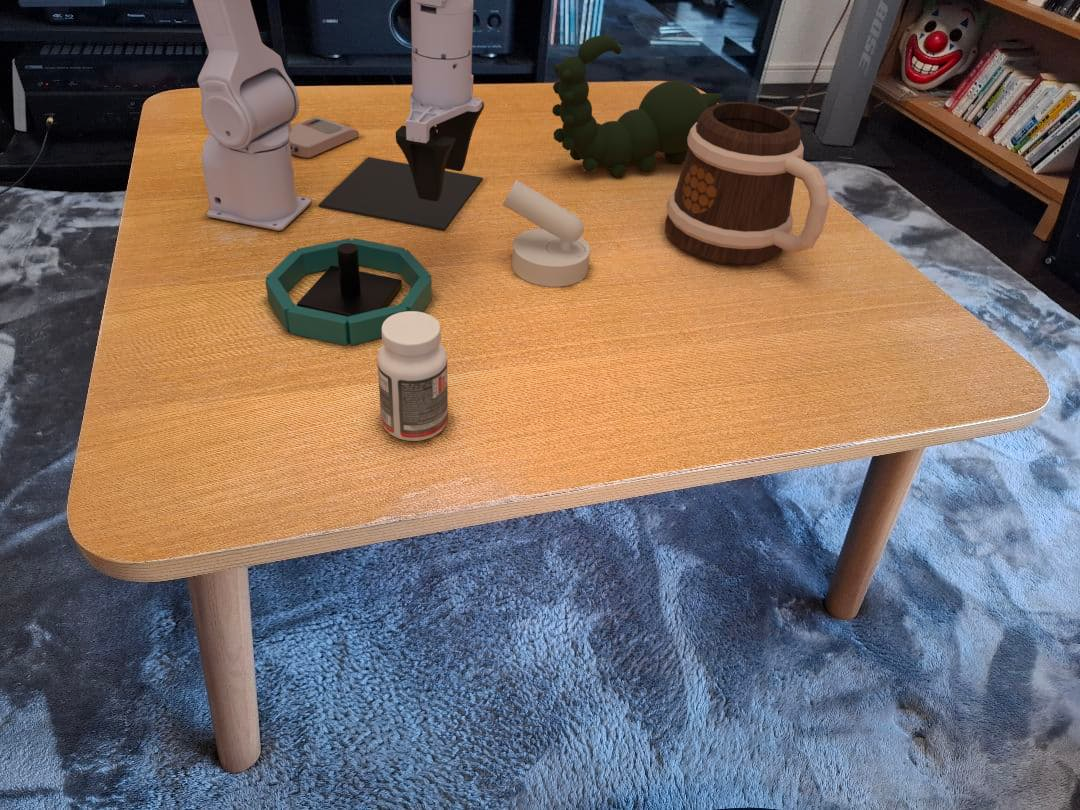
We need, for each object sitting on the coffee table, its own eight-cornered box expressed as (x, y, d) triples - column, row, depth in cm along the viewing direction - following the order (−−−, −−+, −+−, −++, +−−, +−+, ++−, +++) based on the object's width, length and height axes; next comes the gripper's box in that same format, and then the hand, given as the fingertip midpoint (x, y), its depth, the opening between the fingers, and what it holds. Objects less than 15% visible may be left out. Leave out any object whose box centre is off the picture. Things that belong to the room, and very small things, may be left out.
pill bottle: (457, 411, 76) (459, 317, 70) (431, 451, 72) (429, 355, 66) (399, 394, 77) (395, 301, 71) (369, 432, 73) (362, 337, 67)
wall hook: (513, 163, 95) (602, 177, 94) (509, 240, 101) (593, 254, 100) (494, 196, 88) (590, 211, 87) (491, 277, 94) (581, 292, 93)
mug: (636, 228, 105) (655, 107, 96) (718, 199, 113) (743, 85, 104) (762, 303, 94) (798, 174, 85) (843, 265, 102) (885, 143, 92)
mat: (318, 206, 104) (318, 204, 104) (368, 158, 115) (368, 156, 115) (444, 230, 101) (444, 228, 101) (482, 179, 113) (482, 177, 113)
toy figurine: (572, 201, 114) (733, 165, 121) (575, 55, 101) (754, 25, 108) (543, 171, 120) (698, 139, 127) (542, 31, 107) (714, 3, 115)
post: (297, 311, 86) (290, 259, 83) (331, 273, 92) (327, 222, 89) (372, 327, 85) (369, 275, 81) (402, 287, 91) (400, 236, 87)
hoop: (245, 324, 84) (241, 301, 82) (315, 250, 96) (313, 229, 94) (393, 356, 82) (392, 333, 80) (446, 277, 94) (446, 256, 92)
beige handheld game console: (368, 133, 122) (367, 112, 120) (286, 168, 111) (284, 146, 109) (332, 121, 124) (331, 100, 122) (250, 154, 114) (246, 132, 112)
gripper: (458, 80, 76) (455, 220, 84) (503, 35, 87) (497, 162, 95) (382, 68, 77) (388, 207, 85) (436, 24, 88) (436, 152, 96)
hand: (441, 183), depth 90 cm, fingers open, 7 cm apart
